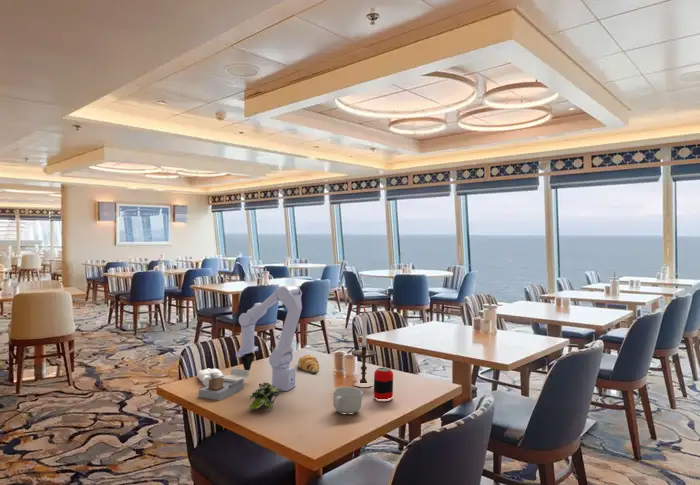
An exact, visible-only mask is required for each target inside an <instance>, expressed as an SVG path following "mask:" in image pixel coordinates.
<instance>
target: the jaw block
mask: <svg viewBox="0 0 700 485" xmlns="http://www.w3.org/2000/svg"><path fill="white" fill-rule="evenodd" d="M220 389H223V378H220V376H219V375H214V376H212V377H211V379H209V390H212V391H218V390H220Z"/></svg>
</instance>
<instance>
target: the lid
mask: <svg viewBox="0 0 700 485" xmlns="http://www.w3.org/2000/svg"><path fill="white" fill-rule="evenodd" d="M249 372H250V370H244V369H242V368H241V369H240V368H235V367H232V368H231V369H230V374H227V375H225V377H222V378H223V381H230V382H237V381H239V380H241V379H244V381H245V380H247V379H249V375H250V374H249Z"/></svg>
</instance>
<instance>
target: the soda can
mask: <svg viewBox="0 0 700 485" xmlns="http://www.w3.org/2000/svg"><path fill="white" fill-rule="evenodd" d="M373 382H374V386H373V398H374V397H375V398H377V399H388V398H391V397H392V396H393V397H394V392H393V391H394V372H393V371H392V369H391V368H390V367H389V368H388V367H378V368H376V369H375V370H374V377H373Z"/></svg>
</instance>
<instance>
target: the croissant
mask: <svg viewBox="0 0 700 485" xmlns="http://www.w3.org/2000/svg"><path fill="white" fill-rule="evenodd" d="M297 366H298V368H300V369H301V370H302V371H306V372H310V373H313V374H314V373H317V372H319V369H320V365H319V361H318V359H317V357H315V356H314V355H311V354H305V355H303V356H302V357H300V358H299V359H298V361H297Z"/></svg>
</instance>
